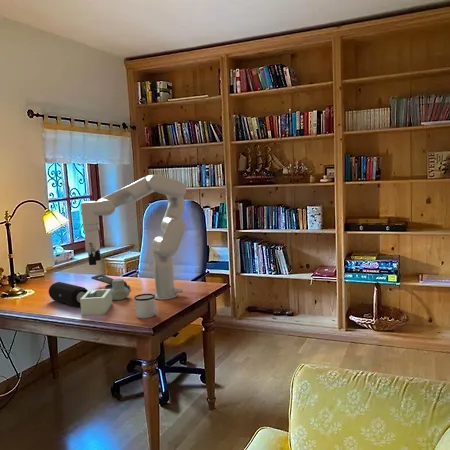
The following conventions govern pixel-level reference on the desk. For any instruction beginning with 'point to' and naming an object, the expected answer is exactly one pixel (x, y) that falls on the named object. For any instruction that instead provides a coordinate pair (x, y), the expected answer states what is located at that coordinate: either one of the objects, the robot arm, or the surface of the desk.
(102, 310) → the well box
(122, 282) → the air freshener
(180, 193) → the robot arm
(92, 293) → the steel bracket
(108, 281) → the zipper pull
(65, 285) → the portable speaker
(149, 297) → the mug
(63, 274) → the desk surface
